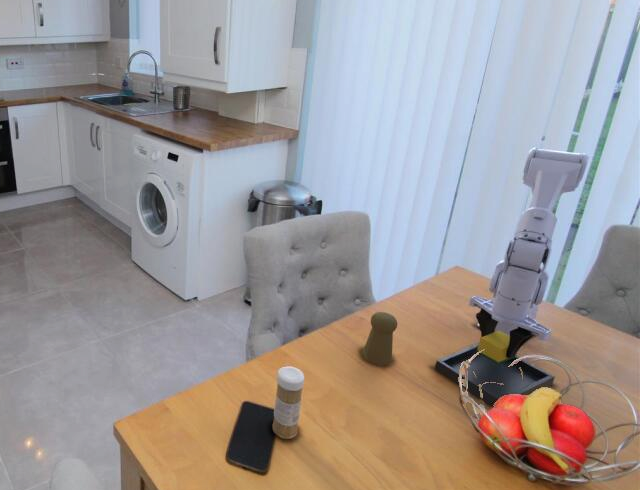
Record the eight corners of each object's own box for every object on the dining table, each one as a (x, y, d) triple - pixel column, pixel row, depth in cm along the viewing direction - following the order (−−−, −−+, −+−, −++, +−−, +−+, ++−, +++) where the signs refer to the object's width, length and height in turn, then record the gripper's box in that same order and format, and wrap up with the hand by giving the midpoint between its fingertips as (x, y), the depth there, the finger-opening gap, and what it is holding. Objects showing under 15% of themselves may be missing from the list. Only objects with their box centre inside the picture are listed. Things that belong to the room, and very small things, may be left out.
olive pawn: (385, 348, 111) (393, 308, 107) (396, 366, 106) (405, 324, 102) (358, 347, 112) (365, 307, 108) (367, 365, 106) (375, 323, 102)
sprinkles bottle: (285, 418, 93) (291, 362, 88) (302, 434, 89) (310, 377, 84) (266, 426, 91) (272, 370, 86) (283, 444, 88) (290, 385, 82)
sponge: (494, 345, 106) (498, 330, 105) (515, 356, 103) (520, 341, 101) (476, 352, 104) (480, 337, 103) (497, 364, 100) (502, 349, 99)
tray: (484, 347, 111) (486, 339, 110) (551, 385, 99) (555, 376, 98) (434, 368, 105) (436, 360, 104) (500, 411, 93) (503, 402, 92)
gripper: (466, 282, 103) (452, 335, 108) (543, 317, 90) (523, 375, 95) (487, 275, 105) (472, 327, 110) (565, 308, 93) (544, 365, 98)
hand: (497, 349), depth 103 cm, fingers closed on sponge, 4 cm apart
